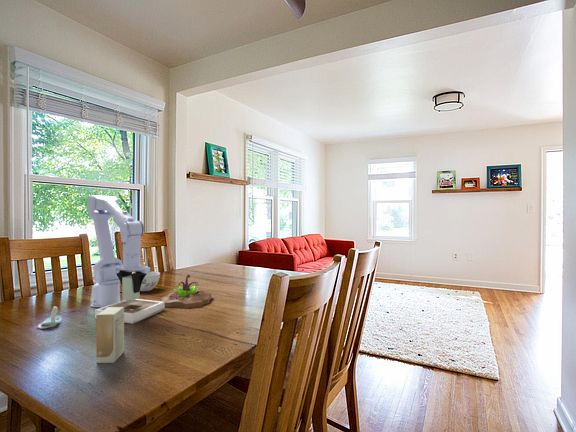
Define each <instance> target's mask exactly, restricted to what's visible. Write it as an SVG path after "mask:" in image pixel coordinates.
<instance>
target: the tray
mask: <svg viewBox="0 0 576 432" xmlns="http://www.w3.org/2000/svg"><path fill="white" fill-rule="evenodd" d="M128 301H129V300H120V302H117V303H114V304H111V305H108V306H105V307H102V308H100V307H98V308H97V309H94V318H95V320H96V315H97V314H98V313H100V312H101V311H103V310H104V309H106V308H107V307H113V306H116V305H119V304H122V303H125V302H128ZM132 301H138V302H147V303H156V304H155V305H153V306H150V307H148V308H145V309H143V310H140V311H138V312H135V313H125V312H124V324H125V323H127V324H135V323H138V322H140V321H143V320H145V319H147V318H149V317H151V316H154V315H156V314H159V313H160V312H163V311H165V307H164V306H165V302H161V301H160V300H151V299H142V298H138V299H135V300H132ZM129 310H134V309H129Z"/></svg>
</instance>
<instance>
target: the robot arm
mask: <svg viewBox="0 0 576 432" xmlns="http://www.w3.org/2000/svg"><path fill="white" fill-rule="evenodd" d="M86 208H87V213H88V217H89V218H91V220H92V221H93V224H94V231H95V236H96V241H97V246H98V253H99V258H100V259H99V260H98V261H97V262H95V264H94V265H93V280H94V282H96V283H95V284H94V285H93V287H92V291H91V293H92V294H91V295H92V296H91V299H92V300H91V301H92V302H91V304H90V307H94V308H102V307H105V306H108V305H111V304H114V303H117V302H120V301H121V285H122V277H126V276H130V275H131V277H132V280H133V290H134V293H137V292H141V291H140V288H141V284H142V282H143V279H144V278H145V276H146V274H147V273H150V272H151V267H150V266H143V265H141V255H142V254H141V248H142V247H141V241H142V240H141V238H142V236H143V235H144V233H145V226H144V224H143V221H141V220H135V218H133V217H132V215H131V214H130V213H129V212H128V211H127V210H122V209H121V207H120V206H119V198H118V197H117V196H115V195H112V196H111V195H110V196H109V195H95V194H94V195H93V194H90V196H88V198H87V202H86ZM110 219H112V220H113V222H114V224H116V226H118V228H119V233H120V236H121V238H120V239H121V242H122V260H121V259H119V258H118V257H116V256H115V252H114V248H113V241H112V236H111V231H110V224H109V220H110ZM132 273H133V274H132Z"/></svg>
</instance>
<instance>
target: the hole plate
mask: <svg viewBox="0 0 576 432" xmlns="http://www.w3.org/2000/svg"><path fill="white" fill-rule="evenodd" d="M155 304H156V303H147V302H138V301H128V302H125V303H122V304H119V305H116V306H113V307H124V312H125V313H135V312H138V311H140V310H143V309H145V308H148V307H150V306H153V305H155ZM129 309H134V310H129Z"/></svg>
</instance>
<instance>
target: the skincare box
mask: <svg viewBox="0 0 576 432" xmlns="http://www.w3.org/2000/svg"><path fill="white" fill-rule="evenodd" d="M95 320H96V334H95V335H96V338H95V339H96V342H95V343H96V347H95V348H96V359H95V360H96V361H95V362H96V364H109V363H110V364H113V363H115V362H117V360H118V359H119V358H120V357H121V356H122V355H123V354H124V353H125V323H124V307H107V308H106V309H104V310H103V311H101V312H100V313H98V314H97V315H96V319H95Z"/></svg>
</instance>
